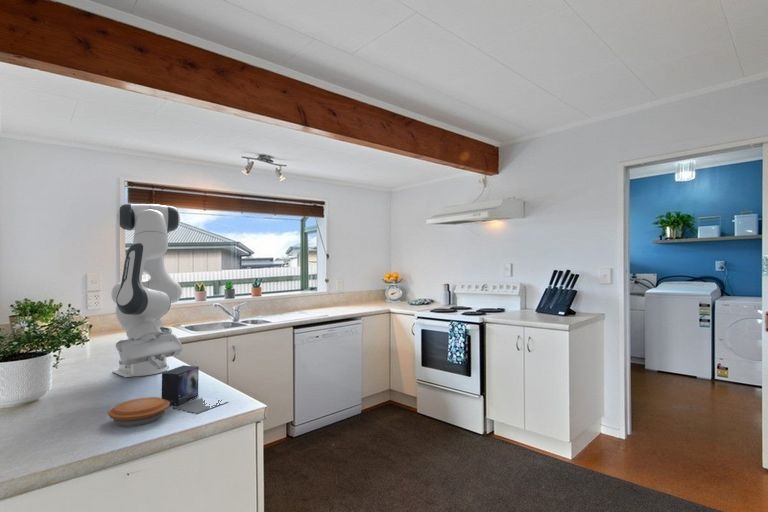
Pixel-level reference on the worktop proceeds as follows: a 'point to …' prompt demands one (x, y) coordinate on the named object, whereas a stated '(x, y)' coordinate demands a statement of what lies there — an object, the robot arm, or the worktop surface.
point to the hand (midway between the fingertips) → (162, 367)
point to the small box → (180, 384)
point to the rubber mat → (194, 406)
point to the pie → (138, 411)
